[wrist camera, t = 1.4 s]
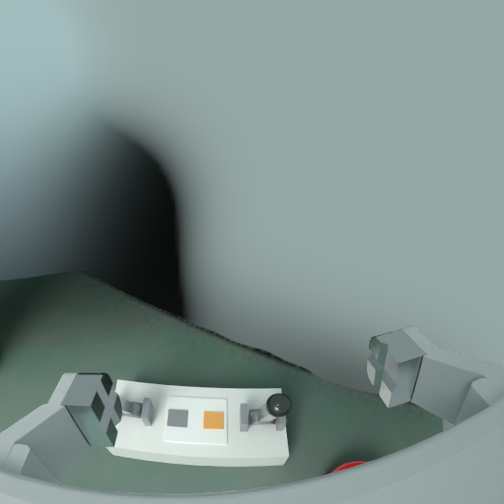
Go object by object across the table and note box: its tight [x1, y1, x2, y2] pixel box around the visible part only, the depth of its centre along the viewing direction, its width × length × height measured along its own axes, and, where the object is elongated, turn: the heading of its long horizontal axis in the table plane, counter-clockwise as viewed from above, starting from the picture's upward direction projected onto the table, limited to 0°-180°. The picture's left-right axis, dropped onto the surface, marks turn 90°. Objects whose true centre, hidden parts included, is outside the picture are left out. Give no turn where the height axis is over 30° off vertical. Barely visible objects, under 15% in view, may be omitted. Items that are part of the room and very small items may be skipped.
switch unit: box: [107, 380, 289, 466], centre depth 35 cm, size 22×10×6 cm, turn 93°
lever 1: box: [118, 395, 143, 418], centre depth 28 cm, size 3×2×13 cm
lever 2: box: [249, 393, 291, 425], centre depth 29 cm, size 3×2×13 cm
